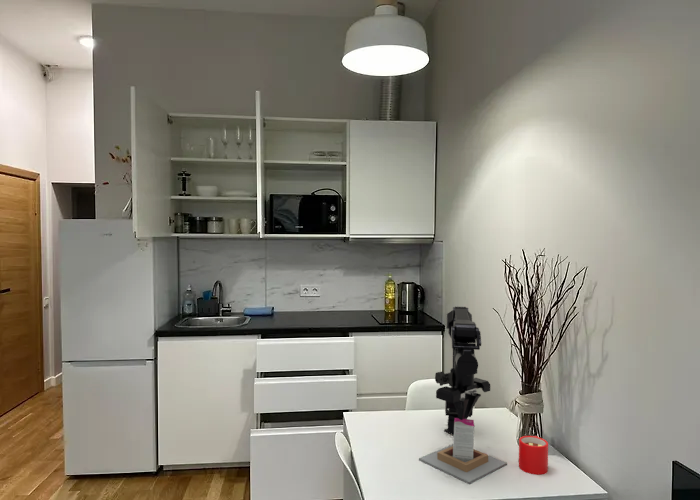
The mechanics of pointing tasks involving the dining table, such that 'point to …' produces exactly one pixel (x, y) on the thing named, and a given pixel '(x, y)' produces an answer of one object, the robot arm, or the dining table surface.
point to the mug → (533, 455)
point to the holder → (463, 464)
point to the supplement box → (463, 439)
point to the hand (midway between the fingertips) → (463, 418)
